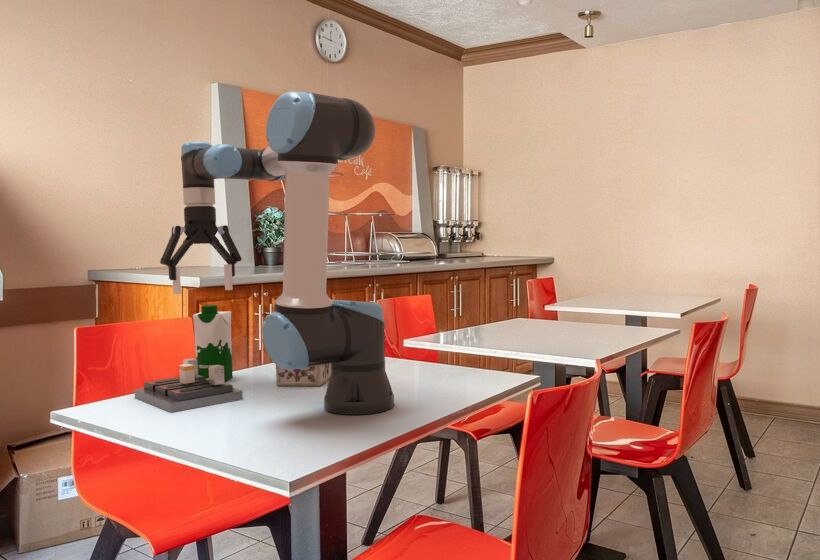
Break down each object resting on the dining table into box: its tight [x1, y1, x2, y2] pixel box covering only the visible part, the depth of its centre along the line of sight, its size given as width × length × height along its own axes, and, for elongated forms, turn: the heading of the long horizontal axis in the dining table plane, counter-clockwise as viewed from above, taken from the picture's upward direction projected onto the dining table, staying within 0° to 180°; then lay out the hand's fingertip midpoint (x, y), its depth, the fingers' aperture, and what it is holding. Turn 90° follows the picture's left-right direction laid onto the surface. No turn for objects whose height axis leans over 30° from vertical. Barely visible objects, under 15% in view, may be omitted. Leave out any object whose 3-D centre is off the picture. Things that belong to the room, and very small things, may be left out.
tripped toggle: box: [178, 363, 195, 384], centre depth 163 cm, size 3×2×4 cm
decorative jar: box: [275, 364, 331, 387], centre depth 179 cm, size 12×12×18 cm
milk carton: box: [192, 304, 233, 383], centre depth 184 cm, size 9×9×20 cm
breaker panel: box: [133, 357, 243, 413], centre depth 163 cm, size 21×17×8 cm
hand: (203, 291), depth 173 cm, fingers open, 13 cm apart
